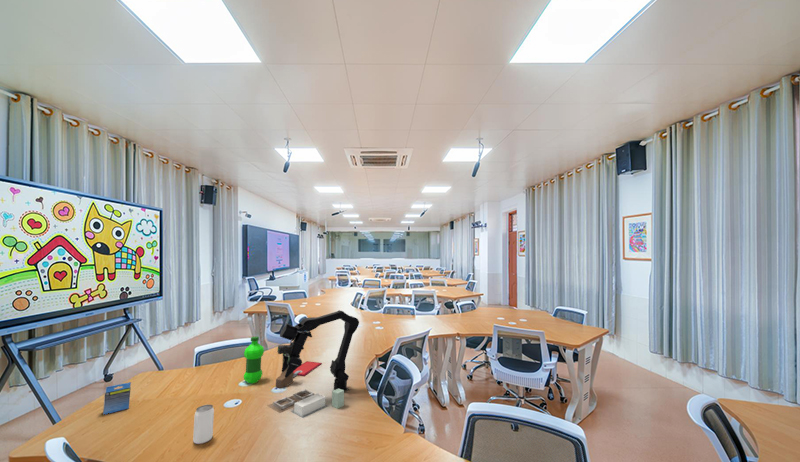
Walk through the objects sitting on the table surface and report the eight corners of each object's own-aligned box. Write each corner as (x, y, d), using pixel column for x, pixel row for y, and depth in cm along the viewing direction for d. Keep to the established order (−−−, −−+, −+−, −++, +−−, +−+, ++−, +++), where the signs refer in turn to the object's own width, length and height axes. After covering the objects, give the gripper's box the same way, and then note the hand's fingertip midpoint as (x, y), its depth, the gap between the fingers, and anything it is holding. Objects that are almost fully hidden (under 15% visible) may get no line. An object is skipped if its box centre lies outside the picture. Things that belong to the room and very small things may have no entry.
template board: (316, 402, 152) (316, 396, 153) (328, 408, 147) (328, 401, 147) (291, 413, 141) (291, 407, 142) (302, 420, 136) (303, 413, 136)
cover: (317, 401, 151) (317, 393, 152) (325, 405, 148) (325, 396, 148) (294, 412, 141) (294, 403, 141) (301, 416, 137) (302, 407, 138)
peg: (338, 405, 150) (338, 388, 151) (343, 407, 148) (344, 390, 148) (331, 408, 147) (332, 391, 148) (337, 411, 144) (337, 393, 145)
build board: (306, 392, 164) (306, 387, 164) (319, 398, 157) (319, 392, 158) (266, 407, 147) (267, 402, 147) (279, 415, 140) (279, 409, 140)
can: (198, 435, 124) (200, 404, 125) (215, 434, 125) (217, 403, 126) (189, 444, 118) (191, 412, 119) (207, 444, 118) (208, 411, 119)
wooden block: (281, 388, 168) (282, 354, 170) (275, 387, 170) (276, 353, 172) (293, 382, 177) (294, 350, 178) (287, 381, 178) (288, 349, 180)
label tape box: (128, 405, 148) (130, 379, 149) (129, 408, 145) (131, 381, 146) (103, 412, 142) (105, 384, 143) (103, 415, 139) (105, 387, 140)
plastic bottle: (264, 382, 176) (266, 338, 178) (243, 386, 170) (246, 340, 172) (261, 377, 184) (262, 334, 186) (241, 380, 178) (243, 336, 180)
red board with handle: (274, 378, 182) (297, 382, 178) (274, 374, 182) (297, 377, 179) (301, 362, 211) (321, 365, 207) (302, 358, 211) (321, 360, 208)
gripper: (280, 334, 161) (266, 364, 156) (287, 341, 145) (270, 375, 140) (300, 341, 166) (286, 370, 161) (308, 349, 150) (293, 382, 145)
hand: (284, 374), depth 152 cm, fingers open, 9 cm apart
